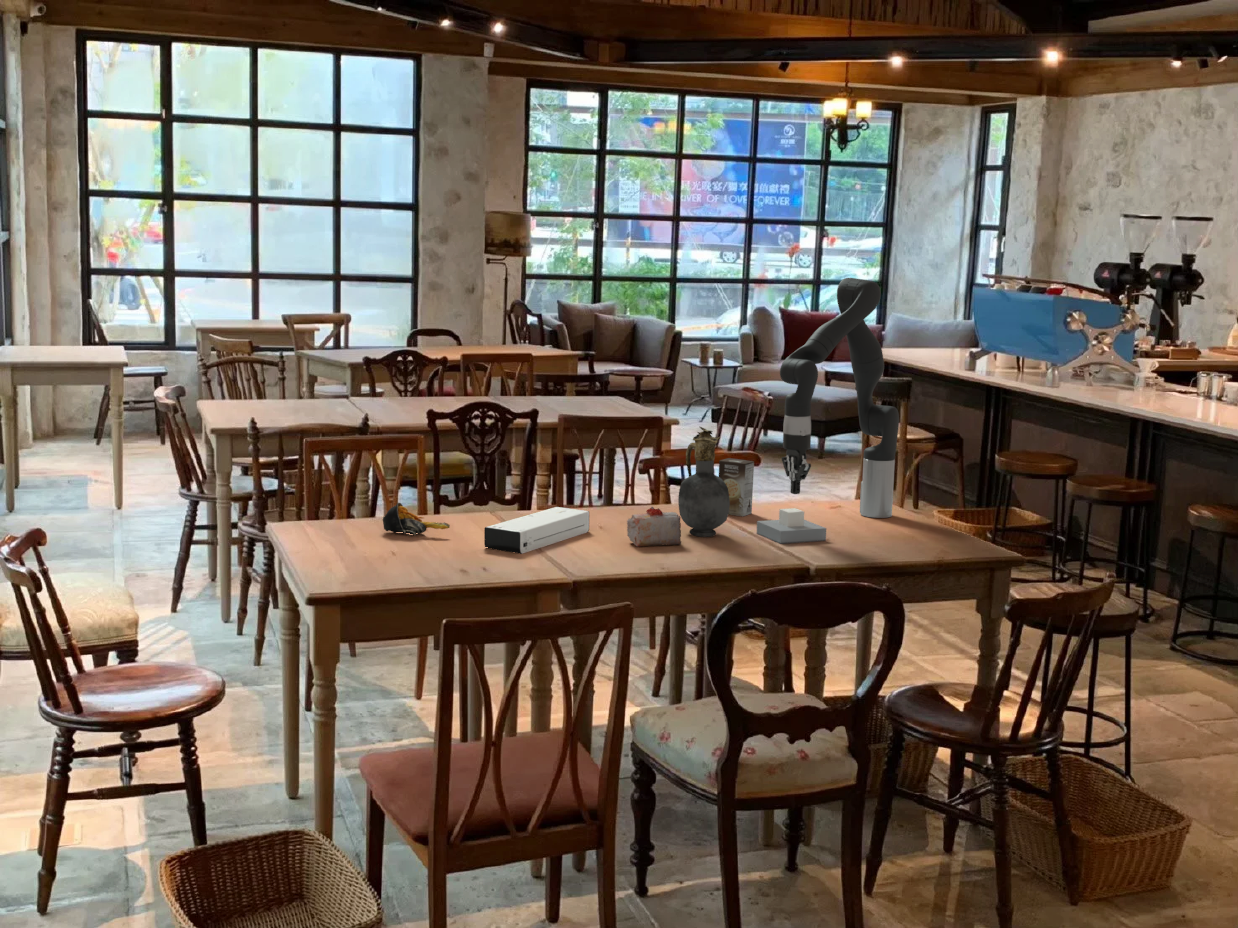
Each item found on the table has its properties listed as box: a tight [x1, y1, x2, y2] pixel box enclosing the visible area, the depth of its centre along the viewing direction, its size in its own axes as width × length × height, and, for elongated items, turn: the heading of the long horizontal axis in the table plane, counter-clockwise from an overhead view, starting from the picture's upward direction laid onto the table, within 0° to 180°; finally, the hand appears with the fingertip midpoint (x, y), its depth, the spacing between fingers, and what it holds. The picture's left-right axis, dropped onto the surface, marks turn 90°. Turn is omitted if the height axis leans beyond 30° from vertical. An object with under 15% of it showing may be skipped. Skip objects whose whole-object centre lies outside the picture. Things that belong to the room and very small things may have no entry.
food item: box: [626, 506, 682, 548], centre depth 354 cm, size 14×8×10 cm, turn 106°
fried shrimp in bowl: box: [382, 502, 450, 536], centre depth 361 cm, size 9×11×18 cm
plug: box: [778, 507, 805, 527], centre depth 366 cm, size 5×5×7 cm
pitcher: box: [677, 426, 730, 538], centre depth 367 cm, size 11×19×30 cm, turn 22°
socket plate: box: [756, 519, 827, 545], centre depth 366 cm, size 14×14×4 cm
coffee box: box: [718, 457, 755, 517], centre depth 398 cm, size 9×6×16 cm
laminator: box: [483, 506, 590, 555], centre depth 356 cm, size 34×12×6 cm, turn 150°
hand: (795, 493), depth 367 cm, fingers closed
